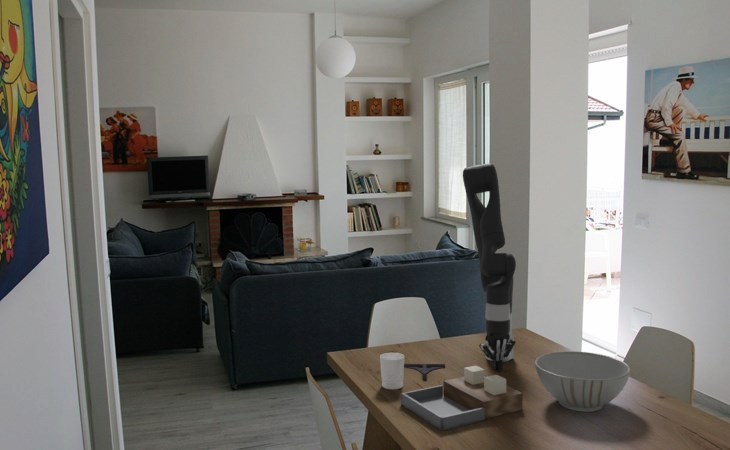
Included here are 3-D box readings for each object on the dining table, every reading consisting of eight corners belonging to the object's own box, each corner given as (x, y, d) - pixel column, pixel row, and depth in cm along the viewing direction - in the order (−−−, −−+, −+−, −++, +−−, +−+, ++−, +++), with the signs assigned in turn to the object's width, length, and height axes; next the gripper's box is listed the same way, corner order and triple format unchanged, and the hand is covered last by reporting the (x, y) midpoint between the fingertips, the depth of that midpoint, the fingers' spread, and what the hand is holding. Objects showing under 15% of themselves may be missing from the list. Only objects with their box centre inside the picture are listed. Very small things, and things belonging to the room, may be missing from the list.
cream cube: (475, 377, 203) (475, 365, 202) (484, 382, 199) (484, 369, 198) (464, 380, 201) (464, 367, 200) (472, 384, 197) (472, 371, 196)
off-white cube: (496, 387, 194) (496, 374, 194) (506, 392, 190) (506, 379, 190) (484, 390, 192) (484, 377, 192) (493, 395, 188) (493, 381, 188)
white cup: (407, 383, 214) (407, 353, 213) (400, 391, 206) (400, 360, 205) (384, 380, 216) (384, 351, 215) (377, 388, 209) (376, 358, 208)
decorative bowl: (581, 429, 176) (582, 386, 174) (515, 397, 199) (515, 359, 198) (650, 410, 188) (651, 369, 187) (580, 382, 211) (580, 346, 210)
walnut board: (480, 388, 207) (480, 373, 207) (522, 409, 190) (522, 393, 189) (443, 396, 201) (443, 380, 201) (483, 419, 183) (483, 401, 183)
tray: (441, 395, 202) (441, 385, 201) (484, 420, 183) (484, 408, 182) (401, 404, 195) (401, 393, 195) (441, 430, 176) (441, 418, 176)
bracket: (403, 381, 217) (403, 373, 217) (404, 367, 232) (404, 359, 231) (446, 382, 216) (446, 374, 215) (444, 368, 231) (444, 360, 230)
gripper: (506, 312, 208) (506, 364, 210) (473, 317, 202) (472, 371, 204) (522, 316, 202) (521, 371, 203) (488, 322, 196) (487, 378, 197)
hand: (497, 371), depth 204 cm, fingers closed
